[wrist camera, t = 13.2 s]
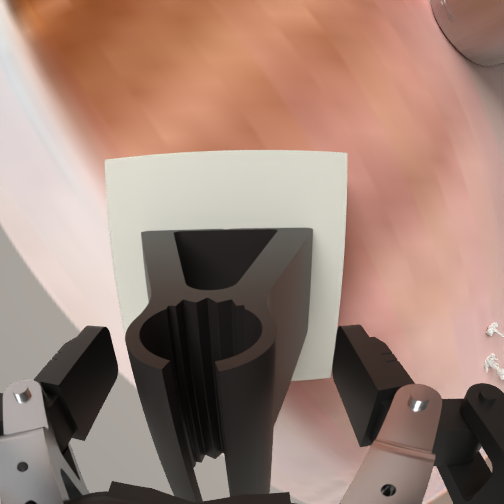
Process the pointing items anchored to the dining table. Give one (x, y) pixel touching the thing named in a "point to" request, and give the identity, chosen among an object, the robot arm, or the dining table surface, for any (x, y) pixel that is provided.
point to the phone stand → (219, 347)
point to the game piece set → (491, 363)
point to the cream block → (235, 220)
